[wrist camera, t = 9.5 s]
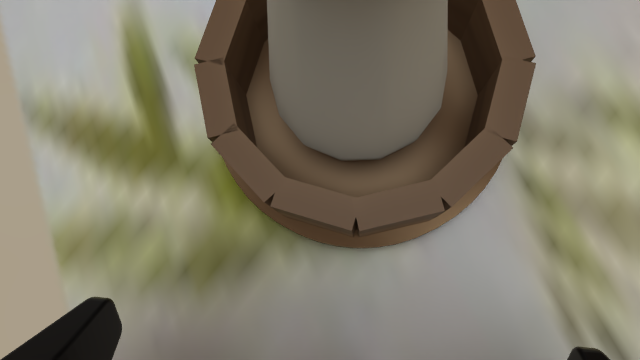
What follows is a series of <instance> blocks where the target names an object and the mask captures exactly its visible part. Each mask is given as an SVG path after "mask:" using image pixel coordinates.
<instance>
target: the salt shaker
mask: <svg viewBox="0 0 640 360" xmlns="http://www.w3.org/2000/svg"><path fill="white" fill-rule="evenodd" d="M267 16H268V43H269V70H270V82H271V86H272V89H273V93H274V97H275V101H276V105H277V109H278V112H279V115H280V117H281V118H282V119H283V120H284V121H285V123H286V124H287V125H288V126H289V127H290V129H291V130H292V131H293V132H294V134H295V135H296V136H297V137H298V138H299V140H300V141H301V142H302V143H303V144H304V145H305V146H307V147H309V148H312V149H314V150H317V151H319V152H322V153H324V154H326V155H329V156H331V157H334V158H336V159H338V160H341V161H354V160H380V159H382V158H384V157H386V156H388V155H390V154H392V153H394V152H396V151H398V150H400V149H401V148H403V147H405V146H407V145H409V144H411V143H413V142H415V141H416V140H417V139H418V138H419V136H420V135H421V134H422V132H423V131H424V130H425V128H426V127H427V126H428V124H429V123H430V122H431V120H432V119H433V118H434V116H435V115H436V114H437V113H438V111H439V110H440V109H441V105H442V99H443V93H444V87H445V82H446V76H447V40H448V0H267Z"/></svg>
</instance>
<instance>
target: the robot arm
mask: <svg viewBox="0 0 640 360" xmlns="http://www.w3.org/2000/svg"><path fill="white" fill-rule="evenodd" d="M121 332H122V324H121V321H120V318H119V315H118V312H117V310H116V307H115V304H114V302H113V301H112V300H111V299H109V298H102V297H91V298H89V299H87V300H85V301H84V302H82V303H81V304H80V305H78V306H77V307H75V308H74V309H72V310H71V311H70V312H68V313H67V314H65V315H64V316H62V317H61V318H60V319H58V320H57V321H55V322H54V323H52V324H51V325H50V326H48V327H47V328H45V329H44V330H42V331H41V332H40V333H38V334H37V335H35V336H34V337H32V338H31V339H30V340H28V341H27V342H25V343H24V344H23V345H21V346H20V347H18V348H17V349H15V350H14V351H12V352H11V353H9V354H8V355H7V356H5V357H4V358H2V359H1V360H112V358H113V355H114V352H115V350H116V347H117V344H118V342H119V339H120V336H121ZM567 360H610V359H609V358H608V357H607V356H606V355H605V354H604V353H603V352H602V351H600V350H598V349H595V348H586V347H575V348H574V349H573V350H572V351H571V353H570V355H569V357H568V359H567Z"/></svg>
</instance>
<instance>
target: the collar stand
mask: <svg viewBox="0 0 640 360" xmlns="http://www.w3.org/2000/svg"><path fill="white" fill-rule="evenodd" d="M534 57H535V54H534V51H533V48H532V45H531V42H530V39H529V37H528V34H527V31H526V28H525V25H524V22H523V20H522V17H521V14H520V11H519V8H518V5H517V3H516V0H448V40H447V76H446V82H445V87H444V93H443V99H442V105H441V109H440V110H439V111H438V113H437V114H436V115H435V116H434V118H433V119H432V120H431V122H430V123H429V124H428V126H427V127H426V128H425V130H424V131H423V132H422V134H421V135H420V136H419V138H418V139H417V140H416V141H415V142H413V143H411V144H409V145H407V146H405V147H403V148H401V149H400V150H398V151H396V152H394V153H392V154H390V155H388V156H386V157H384V158H382V159H380V160H354V161H341V160H338V159H336V158H334V157H331V156H329V155H326V154H324V153H322V152H319V151H317V150H314V149H312V148H309V147H307V146H305V145H304V144H303V143H302V142H301V141H300V140H299V138H298V137H297V136H296V135H295V134H294V132H293V131H292V130H291V129H290V127H289V126H288V125H287V124H286V123H285V121H284V120H283V119H282V118H281V117H280V115H279V112H278V109H277V105H276V101H275V97H274V93H273V89H272V86H271V82H270V70H269V43H268V16H267V0H216V2H215V5H214V8H213V10H212V13H211V16H210V18H209V21H208V24H207V27H206V29H205V32H204V35H203V37H202V40H201V43H200V45H199V48H198V51H197V54H196V56H195V59H196V60H197V62H198V63H199V64H195V65H194V66H195V72H196V77H197V83H198V88H199V93H200V99H201V104H202V110H203V115H204V120H205V126H206V131H207V137H208V139H210V140H211V141H212V142H213V143H211V145H212V146H213V147H214V148H215V149H216V150H217V151H218V153H219V154H220V155H221V156H222V157H223V159H224V161H225V163H226V166H227V168H228V169H229V171H230V173H231V175H232V176H233V178H234V180H235V181H236V183H237V184H238V186H239V187H240V188H241V189H242V191H243V192H244V193H245V194H246V196H247V197H248V198H249V199H250V200H251V201H252V202H253V203H254V204H255V205H256V206H257V207H258V208H259V209H260V210H261V211H262V212H264V213H265V214H267V215H268V216H269V217H271V218H272V219H273V220H275V221H276V222H277V223H279V224H281V225H283V226H285V227H286V228H288V229H290V230H292V231H294V232H296V233H298V234H299V235H302V236H304V237H307V238H310V239H312V240H315V241H317V242H321V243H326V244H330V245H334V246H340V247H350V248H375V247H382V246H388V245H394V244H398V243H401V242H404V241H408V240H411V239H414V238H417V237H419V236H421V235H423V234H425V233H427V232H430V231H432V230H434V229H436V228H438V227H439V226H441V225H442V224H444V223H446V222H447V221H449V220H450V219H452V218H454V217H455V216H456V215H458V214H459V213H460V212H461V211H462V210H463V209H465V208H466V207H467V206H468V205H469V204H471V203H472V202H473V200H474V199H475V198H476V197H477V196H478V195H479V194H480V193H481V192H482V190H483V189H484V188H485V187H486V185H487V184H488V182H489V181H490V179H491V178H492V177H493V175H494V174H495V172H496V170H497V168H498V166H499V164H500V162H501V160H502V158H503V157H504V156H505V155H506V154H507V153H508V152H509V151H510V150H511V149H513V147H512V145H513V144H514V143H516V142H517V139H518V135H519V131H520V127H521V122H522V118H523V114H524V110H525V106H526V102H527V98H528V94H529V90H530V85H531V81H532V77H533V73H534V69H535V65H536V63H532V62H531V61H532V60H533V59H534Z"/></svg>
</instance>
